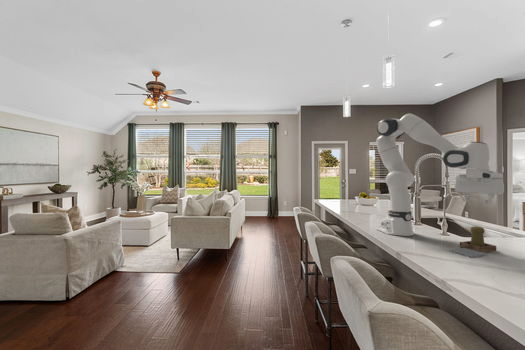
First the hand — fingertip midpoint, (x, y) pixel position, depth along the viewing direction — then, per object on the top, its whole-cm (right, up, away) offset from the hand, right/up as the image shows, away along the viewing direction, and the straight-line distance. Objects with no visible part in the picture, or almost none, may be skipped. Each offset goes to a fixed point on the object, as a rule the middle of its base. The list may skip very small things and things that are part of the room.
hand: (477, 202), depth 126 cm
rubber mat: (-9, -23, -6) cm, 26 cm away
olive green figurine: (0, -23, 0) cm, 23 cm away
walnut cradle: (0, -23, 0) cm, 23 cm away
